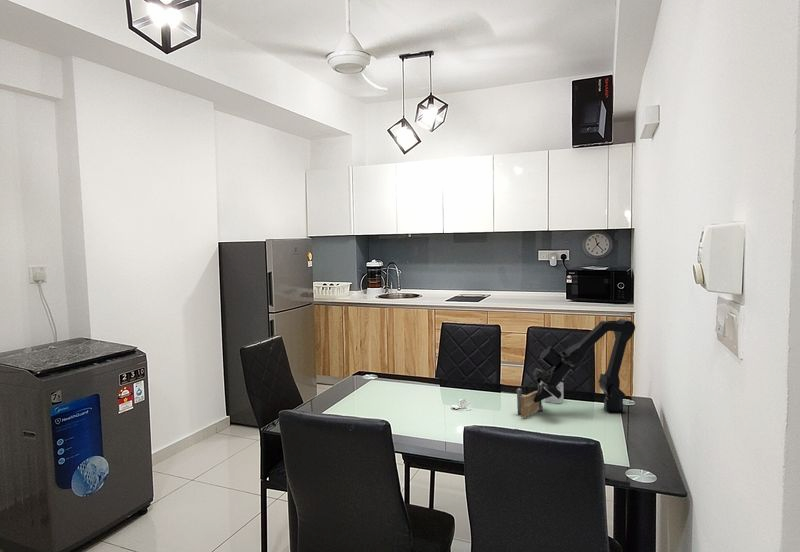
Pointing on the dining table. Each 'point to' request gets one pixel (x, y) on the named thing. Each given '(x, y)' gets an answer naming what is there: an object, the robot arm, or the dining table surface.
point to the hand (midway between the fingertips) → (534, 401)
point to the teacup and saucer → (461, 404)
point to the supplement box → (555, 399)
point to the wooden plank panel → (529, 404)
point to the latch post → (519, 400)
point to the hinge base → (540, 409)
